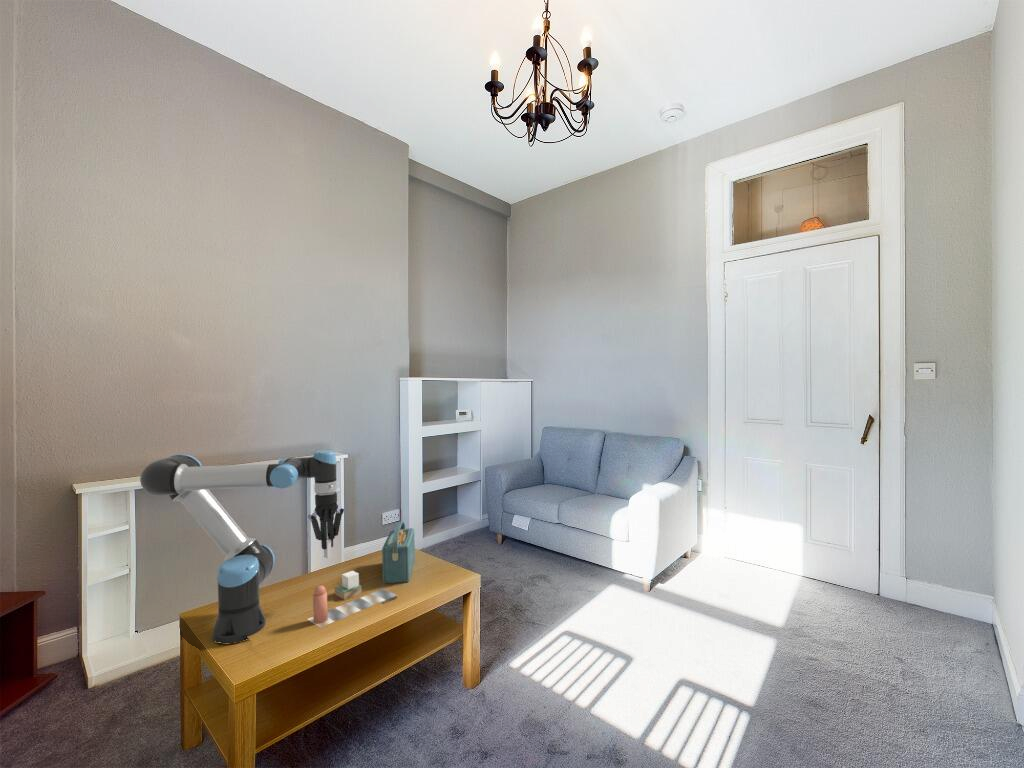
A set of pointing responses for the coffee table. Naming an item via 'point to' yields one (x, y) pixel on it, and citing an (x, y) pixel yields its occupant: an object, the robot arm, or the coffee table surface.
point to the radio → (398, 555)
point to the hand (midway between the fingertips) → (327, 557)
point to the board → (356, 606)
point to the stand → (347, 592)
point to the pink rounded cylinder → (320, 605)
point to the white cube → (350, 579)
